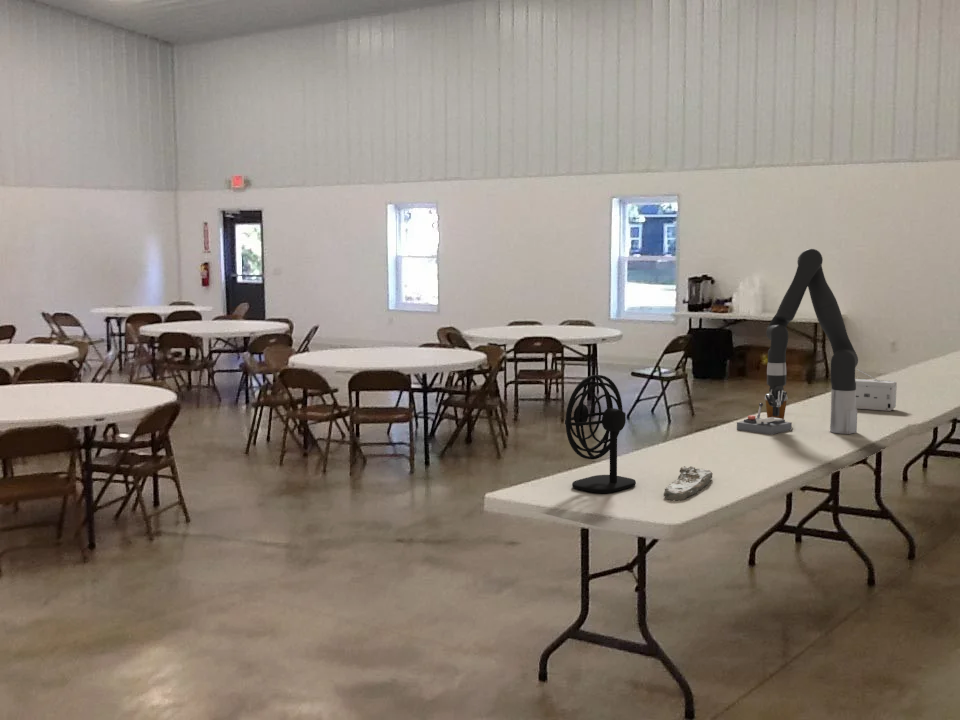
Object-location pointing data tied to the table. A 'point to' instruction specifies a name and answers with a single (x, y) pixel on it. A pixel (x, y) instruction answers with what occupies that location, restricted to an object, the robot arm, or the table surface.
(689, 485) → the long grey stone
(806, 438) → the table surface
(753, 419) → the button
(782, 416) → the disposable coffee cup
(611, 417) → the desk fan
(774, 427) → the panel
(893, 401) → the stereo radio cassette player
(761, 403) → the toggle
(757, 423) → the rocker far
